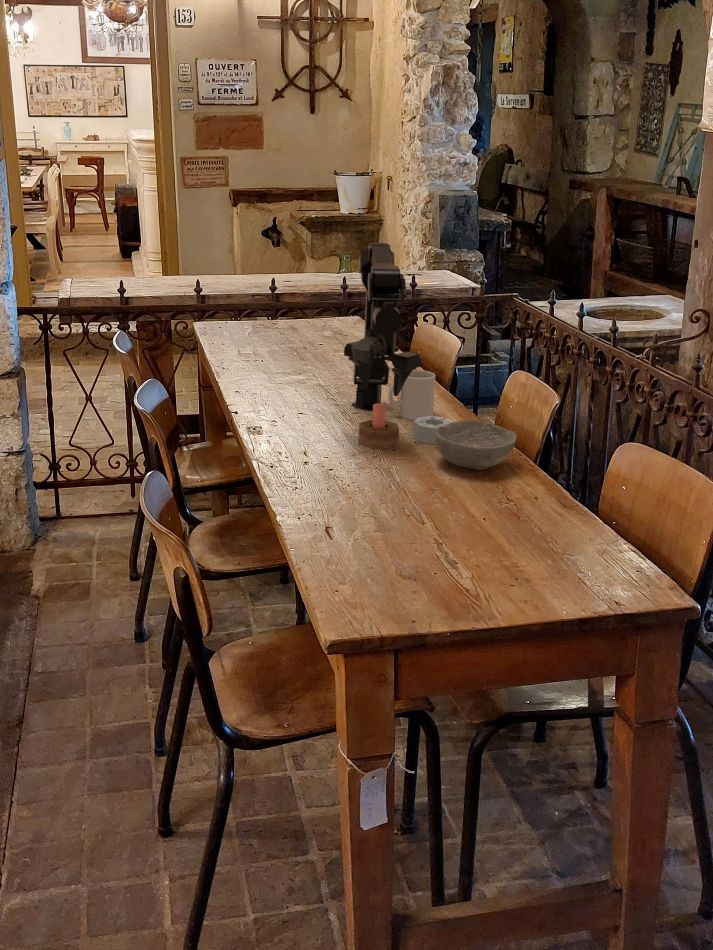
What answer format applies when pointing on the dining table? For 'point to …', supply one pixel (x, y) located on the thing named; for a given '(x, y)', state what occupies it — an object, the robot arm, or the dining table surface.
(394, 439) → the walnut bead
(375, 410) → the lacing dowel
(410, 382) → the mug
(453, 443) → the bowl
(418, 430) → the slate bead
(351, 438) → the dining table surface
